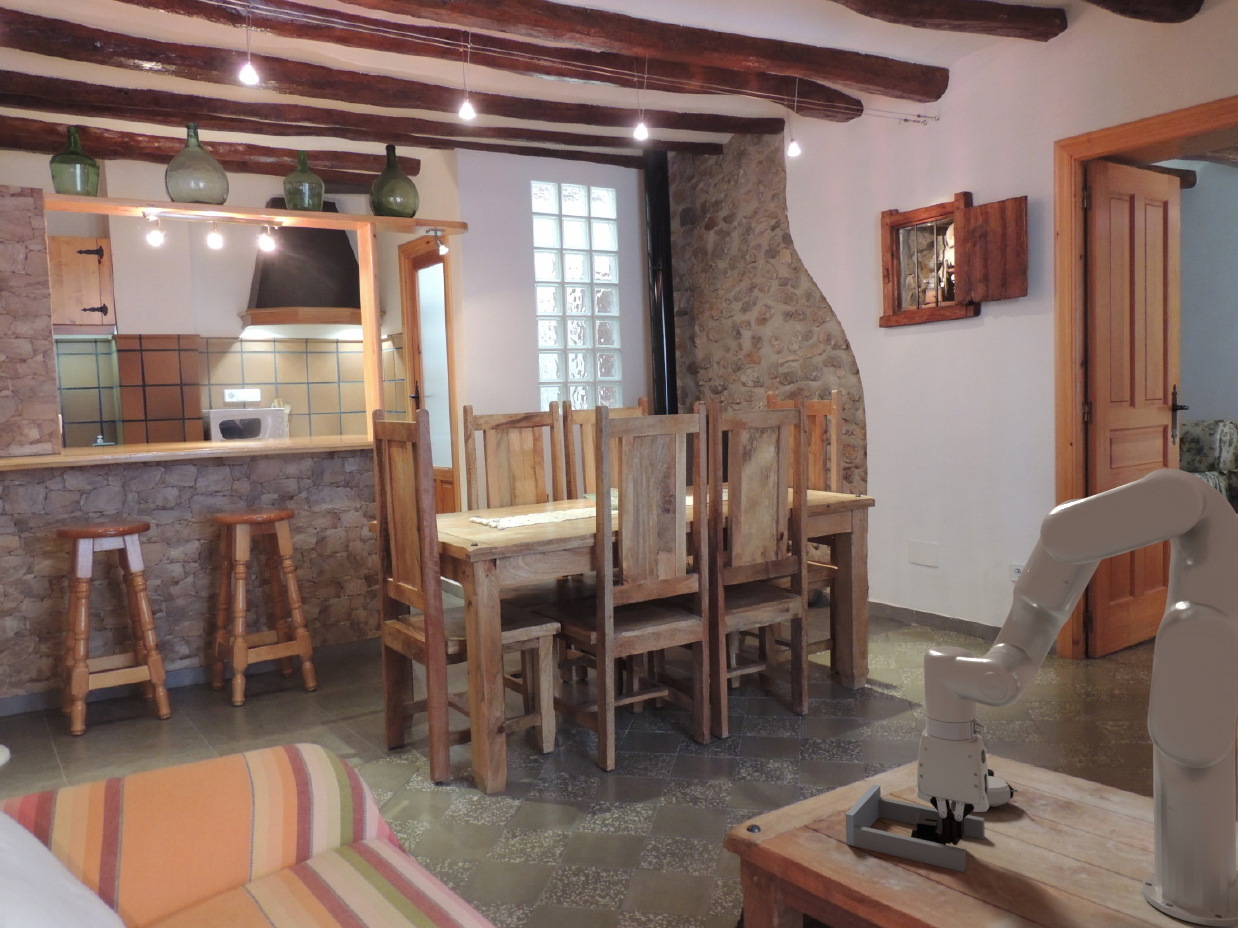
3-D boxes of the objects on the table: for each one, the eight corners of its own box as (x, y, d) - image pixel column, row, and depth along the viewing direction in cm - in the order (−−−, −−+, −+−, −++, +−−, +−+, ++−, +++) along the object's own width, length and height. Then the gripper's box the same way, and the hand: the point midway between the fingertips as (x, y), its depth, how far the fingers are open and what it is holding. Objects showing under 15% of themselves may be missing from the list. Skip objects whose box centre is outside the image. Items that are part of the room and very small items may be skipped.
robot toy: (928, 785, 169) (948, 813, 154) (927, 761, 169) (947, 787, 154) (996, 785, 168) (1023, 814, 153) (995, 761, 168) (1021, 787, 153)
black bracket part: (948, 869, 137) (948, 839, 137) (899, 862, 140) (898, 833, 140) (953, 833, 148) (952, 806, 148) (906, 827, 151) (906, 800, 151)
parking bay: (984, 836, 146) (983, 805, 146) (964, 872, 135) (963, 839, 134) (874, 812, 156) (873, 784, 156) (846, 844, 145) (845, 813, 145)
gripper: (1006, 726, 140) (1008, 842, 141) (909, 712, 149) (912, 821, 149) (995, 741, 134) (998, 862, 135) (895, 726, 142) (899, 839, 143)
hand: (953, 840), depth 142 cm, fingers closed
